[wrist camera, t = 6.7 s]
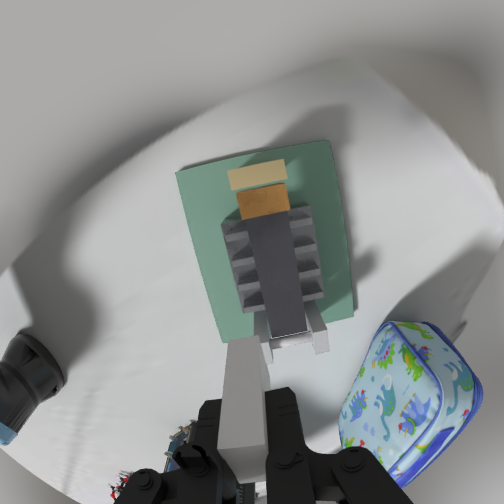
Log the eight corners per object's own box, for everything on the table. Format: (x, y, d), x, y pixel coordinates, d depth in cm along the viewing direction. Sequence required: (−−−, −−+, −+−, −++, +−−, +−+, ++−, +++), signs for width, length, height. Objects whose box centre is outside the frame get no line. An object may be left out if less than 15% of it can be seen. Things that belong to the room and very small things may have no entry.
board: (223, 339, 40) (215, 384, 30) (177, 172, 33) (148, 172, 24) (351, 313, 38) (376, 351, 29) (327, 140, 32) (353, 129, 23)
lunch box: (374, 421, 46) (405, 500, 25) (327, 424, 45) (348, 513, 25) (430, 312, 39) (505, 388, 19) (377, 308, 38) (450, 402, 18)
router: (187, 417, 45) (167, 506, 26) (260, 453, 48) (261, 532, 29) (167, 432, 47) (144, 511, 27) (236, 465, 50) (232, 538, 30)
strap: (269, 333, 31) (270, 344, 29) (237, 191, 26) (235, 193, 24) (307, 325, 31) (311, 336, 29) (282, 182, 26) (285, 183, 24)
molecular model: (126, 491, 59) (118, 525, 43) (96, 473, 56) (85, 507, 41) (174, 477, 58) (170, 519, 42) (141, 457, 55) (132, 501, 40)
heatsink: (243, 300, 37) (242, 321, 32) (223, 219, 34) (218, 227, 29) (318, 285, 36) (328, 303, 31) (305, 202, 33) (314, 207, 28)
